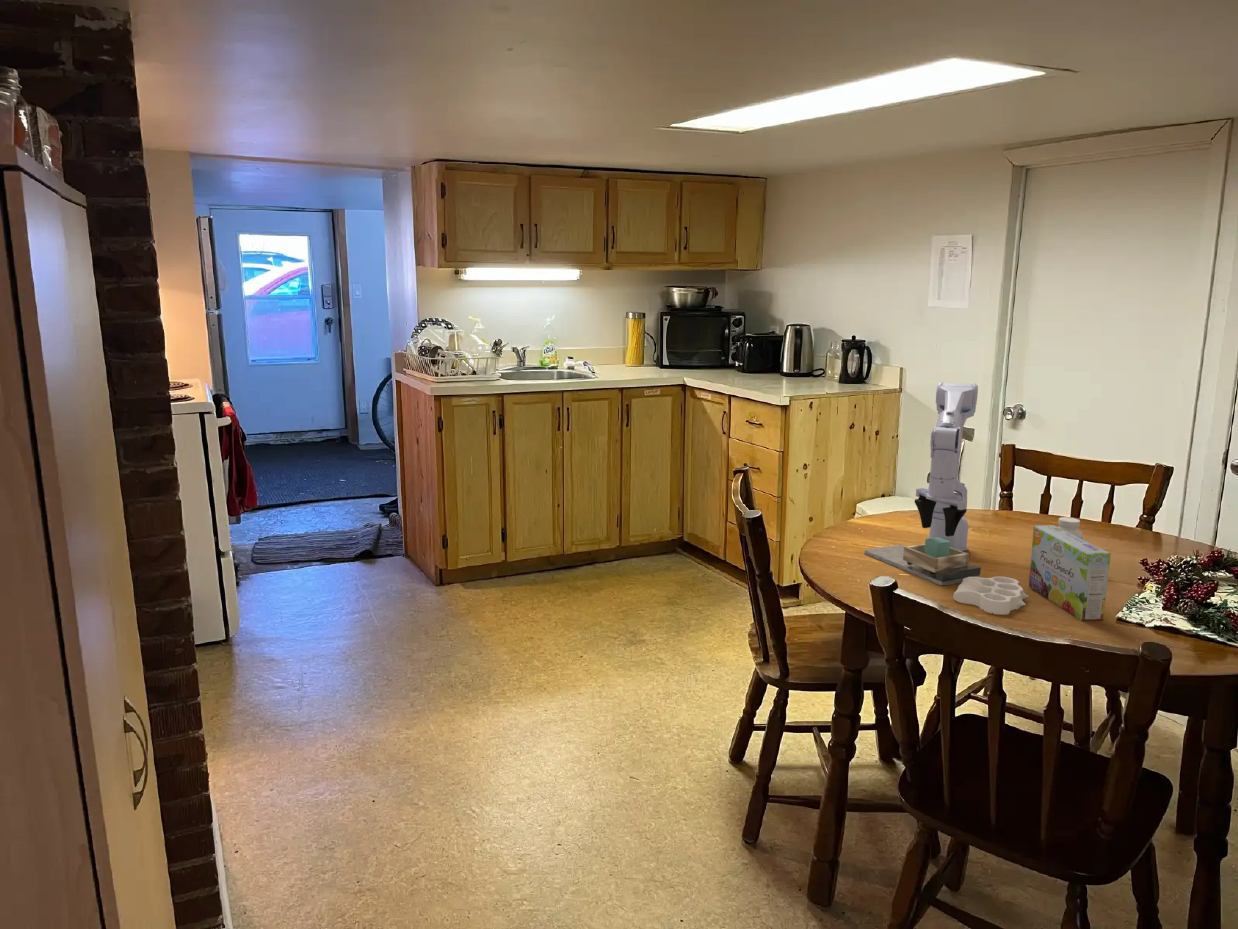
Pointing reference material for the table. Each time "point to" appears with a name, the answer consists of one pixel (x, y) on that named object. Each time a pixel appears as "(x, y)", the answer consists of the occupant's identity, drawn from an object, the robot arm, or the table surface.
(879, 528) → the table surface
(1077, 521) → the supplement bottle
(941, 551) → the block
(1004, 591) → the white paw tray
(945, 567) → the brown open box
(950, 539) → the robot arm
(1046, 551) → the snack box
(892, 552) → the rail board
